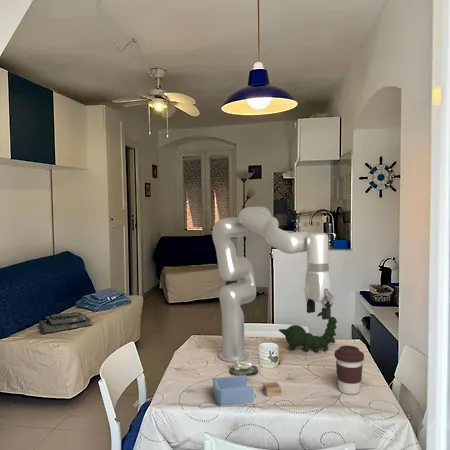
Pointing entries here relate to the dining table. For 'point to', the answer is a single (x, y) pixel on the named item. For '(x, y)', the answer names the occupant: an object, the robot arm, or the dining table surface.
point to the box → (232, 390)
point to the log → (243, 369)
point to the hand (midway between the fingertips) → (318, 315)
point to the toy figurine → (310, 336)
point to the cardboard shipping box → (272, 389)
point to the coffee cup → (349, 369)
